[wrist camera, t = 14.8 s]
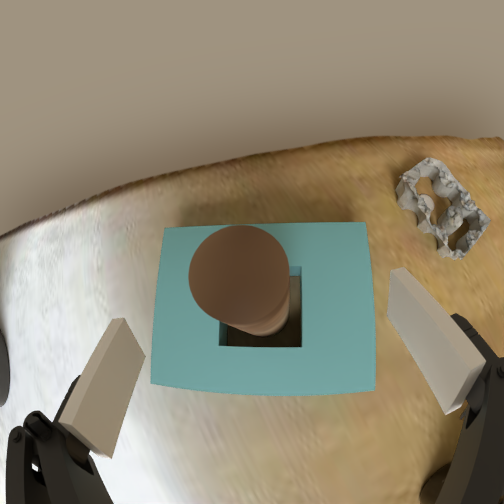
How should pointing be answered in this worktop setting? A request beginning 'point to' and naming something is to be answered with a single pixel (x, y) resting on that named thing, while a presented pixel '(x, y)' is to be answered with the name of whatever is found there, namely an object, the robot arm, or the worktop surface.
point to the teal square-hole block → (273, 358)
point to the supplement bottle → (440, 487)
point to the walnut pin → (242, 279)
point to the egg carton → (453, 215)
